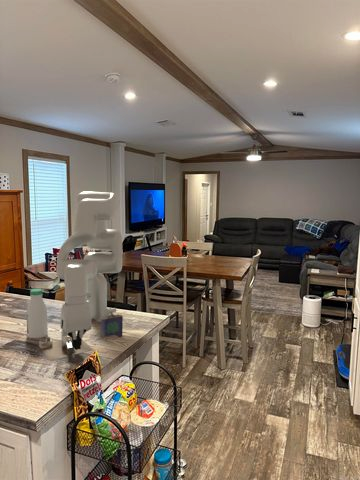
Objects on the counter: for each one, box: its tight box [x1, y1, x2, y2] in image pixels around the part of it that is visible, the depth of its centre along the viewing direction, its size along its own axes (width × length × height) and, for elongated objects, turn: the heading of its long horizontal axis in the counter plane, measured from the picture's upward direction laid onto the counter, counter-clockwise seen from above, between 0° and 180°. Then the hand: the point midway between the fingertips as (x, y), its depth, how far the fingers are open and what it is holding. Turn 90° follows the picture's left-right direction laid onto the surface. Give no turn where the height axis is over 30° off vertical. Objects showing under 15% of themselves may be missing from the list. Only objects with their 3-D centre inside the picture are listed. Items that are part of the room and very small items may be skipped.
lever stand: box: [36, 336, 94, 362], centre depth 133 cm, size 16×15×5 cm
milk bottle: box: [26, 288, 49, 339], centre depth 144 cm, size 8×8×20 cm
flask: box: [100, 312, 124, 338], centre depth 147 cm, size 9×3×11 cm, turn 121°
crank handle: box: [60, 334, 74, 354], centre depth 130 cm, size 13×4×5 cm, turn 23°
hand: (76, 348), depth 129 cm, fingers closed
